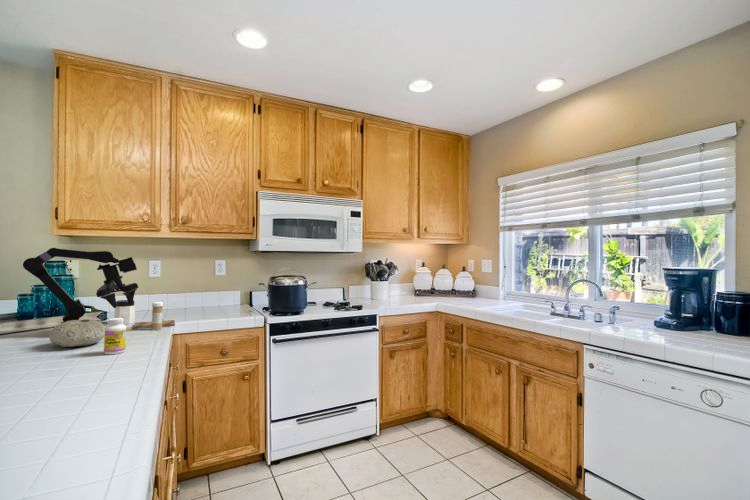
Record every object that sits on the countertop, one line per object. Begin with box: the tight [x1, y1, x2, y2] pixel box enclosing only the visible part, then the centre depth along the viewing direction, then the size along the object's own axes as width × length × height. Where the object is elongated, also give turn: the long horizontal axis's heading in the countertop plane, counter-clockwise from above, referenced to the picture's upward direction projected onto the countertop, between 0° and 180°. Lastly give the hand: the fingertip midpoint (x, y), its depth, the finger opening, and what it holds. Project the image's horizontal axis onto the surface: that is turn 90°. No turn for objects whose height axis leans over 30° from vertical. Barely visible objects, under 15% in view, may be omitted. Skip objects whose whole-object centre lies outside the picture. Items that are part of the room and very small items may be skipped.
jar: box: [114, 299, 136, 325], centre depth 190 cm, size 9×8×12 cm
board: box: [132, 319, 176, 330], centre depth 186 cm, size 18×11×1 cm, turn 121°
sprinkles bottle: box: [151, 301, 164, 331], centre depth 177 cm, size 5×5×14 cm
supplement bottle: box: [103, 318, 127, 356], centre depth 135 cm, size 7×7×13 cm
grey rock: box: [48, 318, 106, 348], centre depth 145 cm, size 18×18×10 cm
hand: (123, 306), depth 174 cm, fingers open, 9 cm apart
